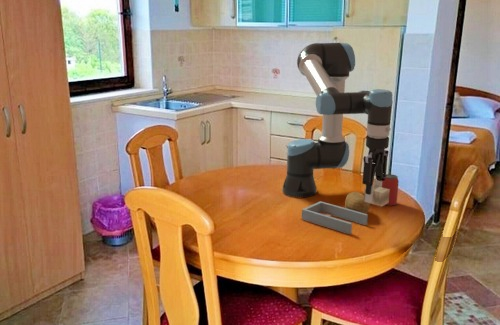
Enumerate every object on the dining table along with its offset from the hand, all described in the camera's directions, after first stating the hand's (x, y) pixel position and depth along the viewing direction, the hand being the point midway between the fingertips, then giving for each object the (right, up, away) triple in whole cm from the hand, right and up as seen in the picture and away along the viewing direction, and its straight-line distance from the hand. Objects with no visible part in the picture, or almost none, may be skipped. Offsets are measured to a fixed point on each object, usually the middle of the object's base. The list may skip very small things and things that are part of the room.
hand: (372, 199), depth 175 cm
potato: (-1, -7, +22) cm, 23 cm away
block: (-2, +2, +1) cm, 3 cm away
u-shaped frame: (-11, -9, +13) cm, 19 cm away
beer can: (+15, -4, +32) cm, 36 cm away
